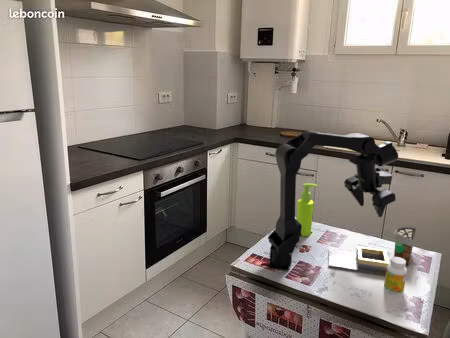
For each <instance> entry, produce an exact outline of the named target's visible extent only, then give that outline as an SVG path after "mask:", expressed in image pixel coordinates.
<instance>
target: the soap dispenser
mask: <svg viewBox="0 0 450 338" xmlns="http://www.w3.org/2000/svg"><path fill="white" fill-rule="evenodd" d="M302 186H303V187H304V189H303V191H302V192H301V198H299V199H297V204H296V205H297V208H296V215H295V219H296V220H297V221H298V222H299V223H300V224H301V225H302V228H301V235H302V237H309V236H311V234H312V233H311V232H312V222H313V213H314V204H315V203H314V201H313V200H312V199H311V196H312V193H311V191H310V188H311V187H313V188H319V186H318V184H316V183H312V182H311V183H309V182H308V183H307V182H306V183H302Z"/></svg>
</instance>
